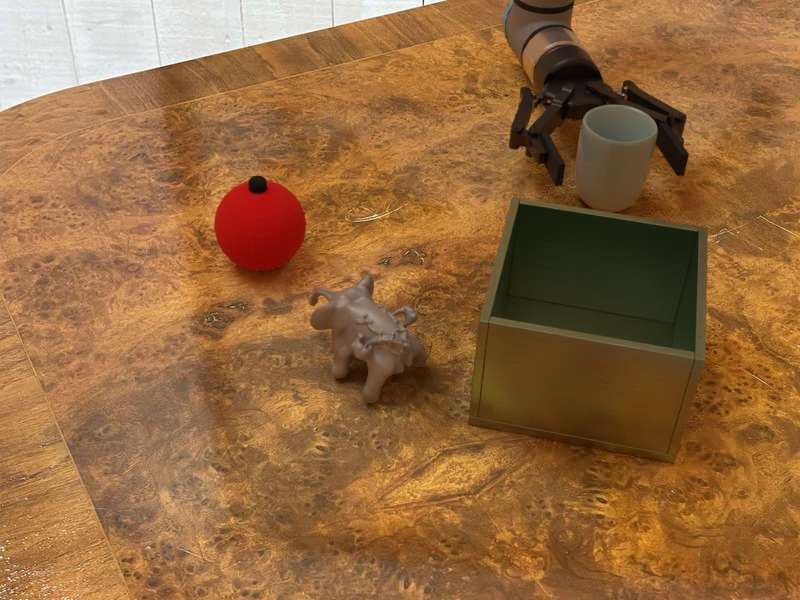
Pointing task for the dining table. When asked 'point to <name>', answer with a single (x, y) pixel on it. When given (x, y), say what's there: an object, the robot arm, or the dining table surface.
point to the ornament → (260, 224)
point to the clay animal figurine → (367, 334)
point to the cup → (614, 156)
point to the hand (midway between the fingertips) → (622, 170)
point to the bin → (592, 329)
